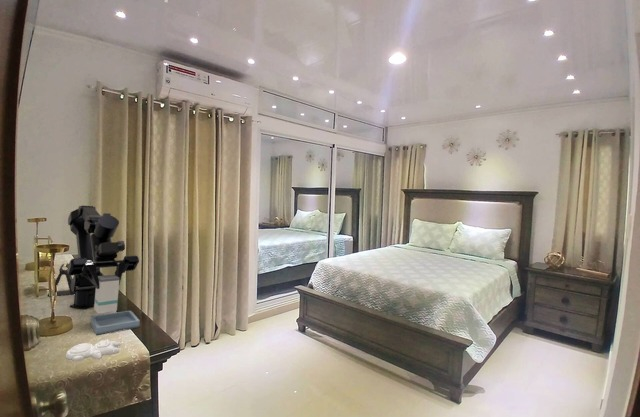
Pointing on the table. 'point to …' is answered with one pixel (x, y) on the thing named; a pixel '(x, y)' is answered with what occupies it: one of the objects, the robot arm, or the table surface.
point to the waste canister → (107, 294)
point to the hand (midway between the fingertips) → (108, 287)
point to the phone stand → (69, 280)
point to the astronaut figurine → (92, 350)
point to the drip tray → (114, 322)
